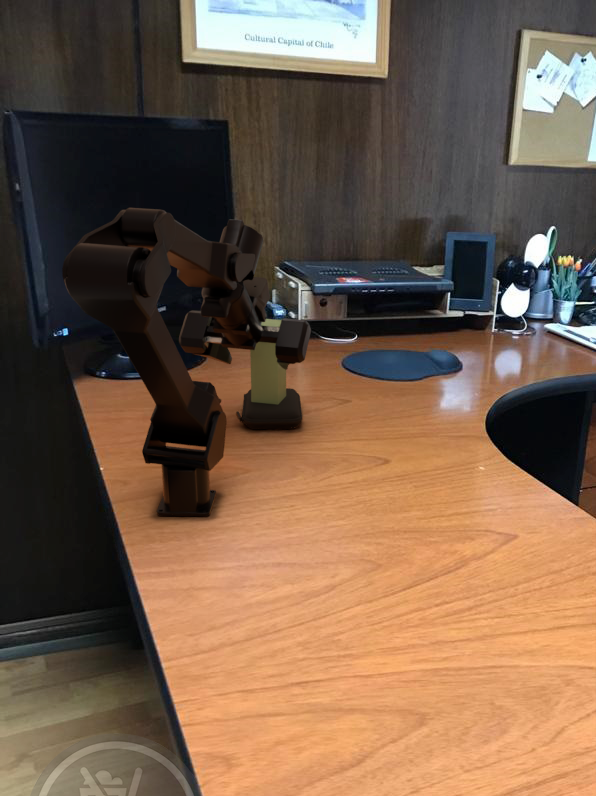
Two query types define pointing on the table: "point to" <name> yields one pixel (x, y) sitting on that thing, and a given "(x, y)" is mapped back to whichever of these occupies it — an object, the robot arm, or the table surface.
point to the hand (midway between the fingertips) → (258, 364)
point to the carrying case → (272, 412)
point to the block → (267, 372)
